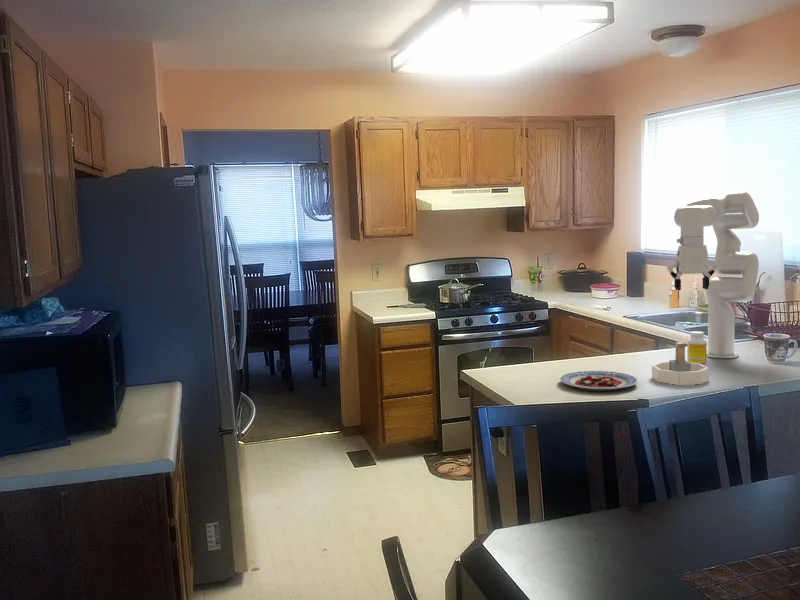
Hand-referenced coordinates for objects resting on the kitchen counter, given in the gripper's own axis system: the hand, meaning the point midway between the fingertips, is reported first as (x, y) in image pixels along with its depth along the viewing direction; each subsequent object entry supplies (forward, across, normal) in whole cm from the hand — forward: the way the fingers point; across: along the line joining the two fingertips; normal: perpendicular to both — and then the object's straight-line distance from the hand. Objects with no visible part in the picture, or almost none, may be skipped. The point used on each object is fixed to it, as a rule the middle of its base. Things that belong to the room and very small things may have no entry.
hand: (691, 289), depth 241 cm
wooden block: (+30, -8, -10) cm, 32 cm away
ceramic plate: (+31, -37, -13) cm, 50 cm away
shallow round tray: (+30, -8, -10) cm, 33 cm away
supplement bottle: (+31, +6, +10) cm, 33 cm away
